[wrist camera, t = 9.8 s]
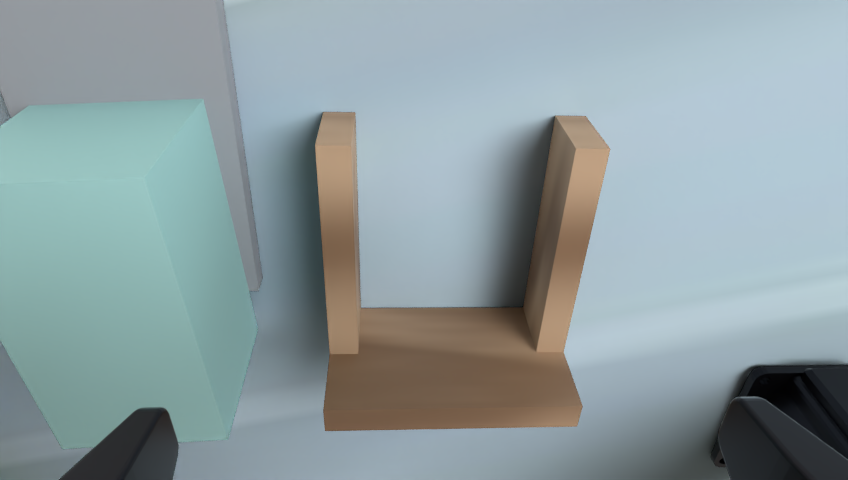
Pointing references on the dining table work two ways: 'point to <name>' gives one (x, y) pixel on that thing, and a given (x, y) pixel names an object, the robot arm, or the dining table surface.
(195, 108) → the blank block
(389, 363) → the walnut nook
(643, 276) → the dining table surface
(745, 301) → the dining table surface
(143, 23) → the rubber mat
